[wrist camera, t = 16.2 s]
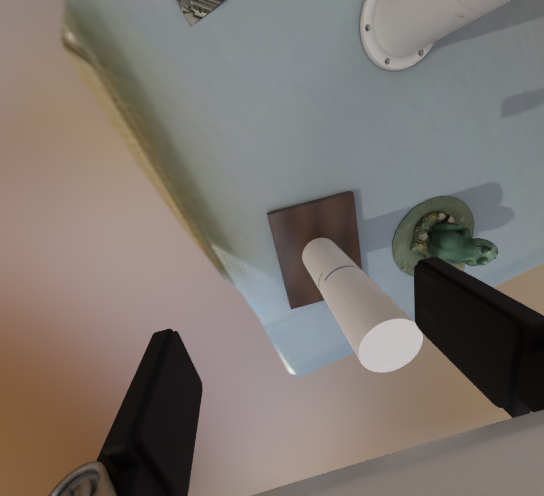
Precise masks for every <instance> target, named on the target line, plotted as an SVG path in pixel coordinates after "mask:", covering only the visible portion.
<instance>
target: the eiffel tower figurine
mask: <svg viewBox="0 0 544 496" xmlns="http://www.w3.org/2000/svg"><path fill="white" fill-rule="evenodd" d="M177 1H178V3H179V5H180V7H181V9H182V11H183V13H184V15H185V17H186V18H187V20H188V22H189V24H190V26H192V25H193V24H194V23H196V22H197V21H198V20H200V19H201V18H202V17H204V16H205V15H206V14H207V13H209V12H210V11H211V10H213V9H214V8H215V7H216V6H218V5H219V4H220V3H221V2H222V1H223V0H177Z"/></svg>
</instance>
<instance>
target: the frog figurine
mask: <svg viewBox="0 0 544 496" xmlns="http://www.w3.org/2000/svg"><path fill="white" fill-rule="evenodd" d="M473 231H474V220H473V215H472V213H471V211H470V209H469V207H468V206H467V205H466V204H465V203H464V202H462V201H460V200H459V199H457V198H453V197H437V198H433V199H430V200H428V201H426V202H424V203H422V204H420V205H418V206H416V207H415V208H414V209H412V210H411V211H410V213H409V214H408V215H407V216H406V217H405V218H404V219H403V221H402V222H401V224H400V225H399V227H398V229H397V231H396V234H395V237H394V240H393V256H394V259H395V261H396V264H397V265H398V267H399V268H400V269H401V270H402V271H403V272H405V273H407V274H409V275H411V276H414V267H415V265H417V263H418V261H419V260H422V259H426V258H429V257H433V256H435V257H438V258H440V259H442V260H443V261H445V262H447V263H449V264H451V265H453V266H454V267H456V268H458V269H460V270H462V271H463V270H464V267H465V265H464V263H465V264H467V265H469V266H477V265H486V264H487V263H489V262H490V261H491V260H493V259H495V258H496V256H497V254H498V249H497V247H496V246H495V244H493V243H492V242H490V241H488V240H485V239H480V238H475V239H473V238H472V236H473Z"/></svg>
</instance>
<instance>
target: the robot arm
mask: <svg viewBox="0 0 544 496" xmlns="http://www.w3.org/2000/svg"><path fill="white" fill-rule="evenodd" d="M510 1H512V0H365V2H364V4H363V8H362V12H361V19H360V35H361V40H362V44H363V46H364V49H365V52H366V53H367V55H368V56H369V58H370V59H371V60H372V61H373V62H374V64H376V65H377V66H379V67H380V68H383V69H385V70H390V71H398V70H403V69H406V68H408V67H410V66H412V65H414V64H416V63H417V62H419V61H420V60H421V59H422V58H423V57H424V56H425V55H426V54H427V53H428V52H429V50H430V49H431V47H432V46H433V44H434V42H435V41H437V40H439V39H441V38H443V37H445V36H446V35H448V34H450V33H452V32H454V31H456V30H458V29H460V28H462V27H463V26H465V25H467V24H469V23H471V22H473V21H475V20H477V19H479V18H480V17H482V16H484V15H486V14H488V13H490V12H492V11H494V10H496V9H497V8H499V7H501V6H503V5H505V4H506V3H508V2H510ZM365 28H366V30H367V31H366V30H365ZM385 62H386V64H385ZM414 297H415V323H416V325H417V327H418V329H419V330H420V331H421V332H422V333H423V334H424V335H425V336H426V337H427V338H428V339H429V340H430V341H431V342H432V343H433V344H434V345H435V346H436V347H437V348H438V349H439V350H440V351H441V352H442V353H443V354H444V355H445V356H446V357H447V358H448V359H449V360H450V361H451V362H452V363H453V364H454V365H455V366H456V367H457V368H458V369H459V370H460V371H461V372H462V373H463V374H464V375H465V376H466V377H467V378H468V379H469V380H470V381H471V382H472V383H473V384H474V385H475V386H476V387H477V388H478V389H479V390H480V391H481V392H482V393H483V394H484V395H485V396H486V397H487V398H488V399H489V400H490V401H491V402H492V403H493V404H494V405H495V406H497V407H499V408H503V409H504V410H505V411H506V412H507V413H508V414H509V415H510V416H511V417H512V418H511V419H508V420H505V421H501V422H498V423H495V424H491V425H487V426H484V427H480V428H477V429H474V430H470V431H467V432H463V433H460V434H456V435H453V436H449V437H446V438H442V439H439V440H436V441H432V442H429V443H426V444H422V445H419V446H415V447H412V448H408V449H405V450H402V451H398V452H395V453H392V454H388V455H385V456H382V457H378V458H375V459H371V460H368V461H365V462H361V463H358V464H355V465H351V466H348V467H345V468H341V469H338V470H334V471H331V472H328V473H324V474H321V475H318V476H314V477H311V478H308V479H304V480H301V481H298V482H295V483H291V484H288V485H285V486H281V487H278V488H275V489H272V490H268V491H265V492H262V493H258V494H255V495H252V496H544V316H543V315H541V314H540V313H538V312H536V311H534V310H532V309H530V308H528V307H527V306H525V305H523V304H521V303H520V302H518V301H516V300H514V299H512V298H511V297H509V296H507V295H505V294H503V293H501V292H500V291H498V290H496V289H494V288H492V287H491V286H489V285H487V284H485V283H483V282H482V281H480V280H478V279H476V278H474V277H472V276H471V275H469V274H467V273H465V272H463V271H462V270H460V269H458V268H456V267H454V266H453V265H451V264H449V263H447V262H445V261H443V260H442V259H440V258H438V257H435V256H433V257H429V258H426V259H422V260H419V261H418V263H417V265H415V267H414ZM201 397H202V382H201V379H200V377H199V375H198V373H197V371H196V369H195V367H194V365H193V363H192V361H191V358H190V356H189V354H188V352H187V350H186V348H185V346H184V344H183V342H182V340H181V338H180V335H179V333H178V332H177V331H174V332H173V330H172V329H166V330H163V331H159V332H155V333H154V334H153V336H152V338H151V340H150V342H149V345H148V347H147V349H146V351H145V353H144V356H143V358H142V360H141V363H140V365H139V367H138V369H137V372H136V374H135V376H134V378H133V380H132V382H131V385H130V387H129V389H128V391H127V393H126V396H125V398H124V400H123V402H122V405H121V407H120V409H119V412H118V414H117V416H116V418H115V420H114V423H113V425H112V427H111V429H110V432H109V434H108V436H107V438H106V440H105V443H104V445H103V447H102V449H101V452H100V454H99V456H98V458H97V461H92V462H87V463H85V464H83V465H81V466H79V467H77V468H76V469H74V470H73V471H72V472H70V473H69V474H67V475H66V476H65V477H64V478H63V479H62V480H61V481H60V482H59V483H58V484H57V485H56V487H55V488H54V489H53V490H52V491H51V493H50V494H49V495H48V496H187V495H188V489H189V482H190V475H191V468H192V461H193V453H194V447H195V439H196V432H197V425H198V418H199V411H200V404H201ZM531 411H532V412H533V413H530V412H531ZM529 413H530V414H529Z"/></svg>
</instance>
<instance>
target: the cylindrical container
mask: <svg viewBox="0 0 544 496" xmlns="http://www.w3.org/2000/svg"><path fill="white" fill-rule="evenodd" d="M302 259H303V263H304V265H305V266H306V268H307V270H308V272H309V273H310V275H311V277H312V279H313V280H314V282H315V284H316V286H317V287H318V289H319V291H320V292H321V294H322V296H323V298H324V299H325V301H326V303H327V305H328V306H329V308H330V310H331V312H332V313H333V315H334V317H335V319H336V320H337V322H338V324H339V326H340V327H341V329H342V331H343V332H344V334H345V336H346V338H347V339H348V341H349V343H350V345H351V346H352V348H353V350H354V352H355V353H356V355H357V357H358V358H359V360H360V362H361V363H362V364H363V366H364V367H366V368H367V369H369V370H371V371H374V372H390V371H393V370H396V369H399V368H401V367H403V366H404V365H406V364H407V363H409V362H410V361H411V360H412V359H413V358H414V357H415V356H416V355H417V353H418V352H419V350H420V348H421V345H422V341H423V335H422V332H421V331H420V330H419V329H418V327H417V325H416V323H415V322H414V321H413V320H412V319H411V318H410V317H409V316H408V315H407V314H406V313H405V312H404V311H403V310H402V309H401V308H400V307H399V306H398V305H397V304H396V303H395V302H394V301H393V300H392V299H391V298H390V297H389V296H388V295H387V294H386V293H385V292H384V291H383V290H382V289H381V288H380V287H378V286H377V285H376V284H375V283H374V282H373V281H372V280H371V279H370V278H369V277H368V276H367V275H366V274H365V273H364V272H363V271H362V270H361V269H360V268H359V267H358V266H357V265H356V264H355V263H354V262H353V261H352V260H351V259H350V258H349V257H348V256H347V255H346V254H345V253H344V252H343V251H342V250H341V249H340V248H339V247H338V246H337V245H336V244H335V243H334V242H333V241H331V240H330V239H327V238H317V239H314V240H312V241H311V242H309V243H308V244H307V245H306V247H305V248H304V250H303V254H302Z"/></svg>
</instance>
